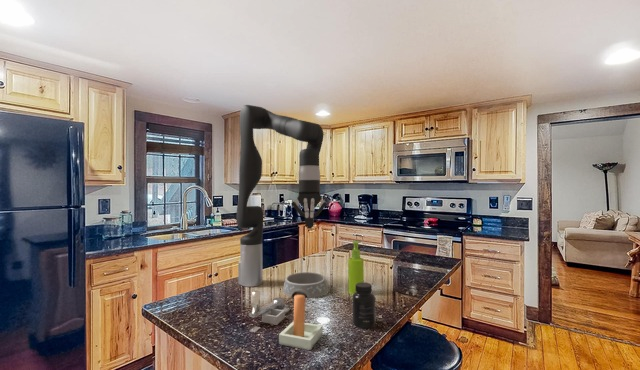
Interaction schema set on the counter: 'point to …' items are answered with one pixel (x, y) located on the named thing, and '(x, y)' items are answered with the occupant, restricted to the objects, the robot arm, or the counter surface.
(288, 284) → the dog bowl
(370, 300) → the supplement bottle
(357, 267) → the soap dispenser
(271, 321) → the collar
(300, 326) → the pin
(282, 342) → the tray
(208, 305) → the counter surface
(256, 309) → the crank
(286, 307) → the crank flange
